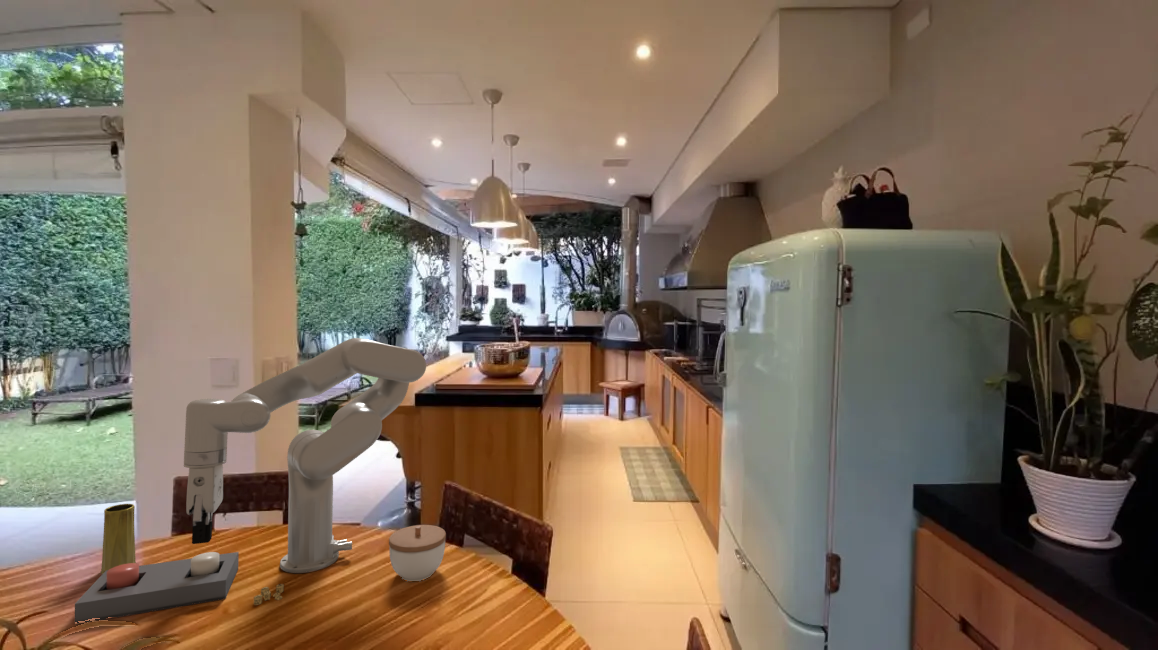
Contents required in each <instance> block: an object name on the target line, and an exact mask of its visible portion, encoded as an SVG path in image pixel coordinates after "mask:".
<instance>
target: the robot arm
mask: <svg viewBox="0 0 1158 650" xmlns="http://www.w3.org/2000/svg"><path fill="white" fill-rule="evenodd" d="M426 369H427V361H426V358H425V357H424V356H423V354H422V353H421V352H419V351H417V350H415V349H412V348H404V347H402V346H397V345H392V344H391V345H390V344H387V343H382V342H379V341H375V340H371V339H367V338H360V337H352V338H349V339H346V340H344V341H342V342H341V343H339V344H336V345H334V346H333V347H331V348H329V349H328V350H326V351H325V350H324V352H322V353H319V354H318V355H316V356H314V357H312V358H310V359H309V360H306V361H304V362H303V363H301V364H299V365H296V366H295V367H294V366H293V367H292V368H290V369H288V370H287V371H283V372H282V373H279V374H278V375H275V376H273V377H270V378H268V379H266V380H264V381H262V382H260V383H258V384H257V385H255V386H253V387H250V388H249V389H247V390H245V391H243V392H242V393H239V394H238V395H237V396H235V397H234V398H233V399H232V400H231V401H226V400H224V399H221V398H220V399H219V398H203V399H202V398H201V399H195V400H192V401H190V402H189V403H187V406H186V409H185V410H186V411H185V426H184V427H185V432H184V447H183V448H184V449H183V468H188V477H187V487H186V488H187V489H186V499H185V500H186V504H185V505H186V506H185V507H186V509H185V510H186V514H187V516H188V515H189V516H191V515H192V531H191V532H192V535H191V544H192V545H197V544H198V545H199V544H207V543H210V542H211V540H212V537H213V515H214V514H213V513H215V512H216V511H217V509H218V508H219V506H220V505H221V503H222V502H223V499H224V467H223V465H224V464H225V463H227V456H228V434H229V433H239V434H243V433H244V434H251V433H256V432H259V431H261V430H263V429H264V428H265V427H266V426H267V425H268V424H269V422H270V421H271V413H272V412H275V411H276V410H278V409H279V408H282V407H283V406H285V405H288V404H290V403H292V402H296V401H299V400H302V399H303V400H304V399H310V398H315V397H316V396H320V395H322V394H324V393H326V392H328V391H329V390H331V389H332V388H333V387H335V386H337V385H339V384H341V383H343V382H344V381H346V380H348V379H349V378H352V377H353V376H355V375H356V374H359V375H363V376H367V377H371V378H372V377H373V378H377V380H376V381H375V382H374V384H373V385H371V386H370V387H369V388H368V389H366V390H365V391H364V392H363V393H361V394H360V395H358V396H356V397H355V398H354V399H352V400H351V401H349V402H348V403H347V404H345V405H343V406H342V407H340V408H339V409H338V410H336V412H335V413H334V415H333V416H332V417H331V421H330V426H331V427H330V428H328V429H327V430H326V431H325V432H323V431H322V430H319V429H318V430H317V429H307V430H303V431H301V432H300V433H298V434H297V435H295V437H293V439H292V440H291V442H290V443H289V444H288V445H289V446H288V449H287V457H286V458H287V472H288V511H287V512H288V518H287V524H288V525H287V554H285V555H284V556H283V557H282V558H281V559H280V562H279V566H280V569H281V570H282V571H283V572H286V573H291V574H304V573H306V574H307V573H311V572H316V571H319V570H323V569H325V568H327V567H330V566H331V565H332V564H334V563H335V562H336V561H337V560H338V559H339V555H340V552H343V551H351V550H353V541H352V540H351V541H348V539H347V538H346V539H341V540H337V539H334V537H335V536H334V534H333V515H334V514H333V508H334V505H333V501H334V476H333V475H335V474H337V473H338V472H339V471H341V470H342V469H343V468H345V467H346V466H348V465H349V464H350V463H352V462H353V461H354V460H355V459H357V458H358V457H359V456H361V455H362V454H363V453H365V452H366V451H367V450H368V449H370V448H371V447H372V446H373V445H374V444H375V443H376V442H377V440H378V439H379V438H380V435H381V434H382V430H383V422H382V421H383V420H384V419H385V418H387V417H388V416H390V414H392V413H393V412H394V411H395V410H396V409H397V408H398V407H399V406H400V405H401V404H402V403H403V401H404V400H405V398H406V395H407V393H408V389H409V384H410V383H415V382H417V381H418V380H420V379H421V378H422V377H423V376H424V375H425V372H426V371H427V370H426Z"/></svg>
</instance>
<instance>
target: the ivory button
mask: <svg viewBox="0 0 1158 650" xmlns="http://www.w3.org/2000/svg"><path fill="white" fill-rule="evenodd" d="M219 555H220V553H219V552H218V551H217V552H215V551H210V552H209V551H208V552H204V553H203V552H202V553H200V554H197V555H195V556H193V557H191V558H192V559H191V558H190V559H191V576H192V577H195V576H202V575H208V574H214V573H216V572H218V571H219Z"/></svg>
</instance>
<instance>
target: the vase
mask: <svg viewBox="0 0 1158 650" xmlns="http://www.w3.org/2000/svg"><path fill="white" fill-rule="evenodd" d="M135 510H136V509H135V504H133V503H123V504H116V505H112V506H109V507H106V508H105V509H104V513H103V514H104V518H103V521H104V522H103V534H102V535H103V537H102V538H103V539H102V555H101V567H100V569H101V570H100V574H101V575H102V574H103V573H104V572H105V571H106V570H109V569H111V568H113V567H116V566H119V565H123V564H128V563H137V562H136V539H135V538H136V537H135V536H136V535H135Z"/></svg>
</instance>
